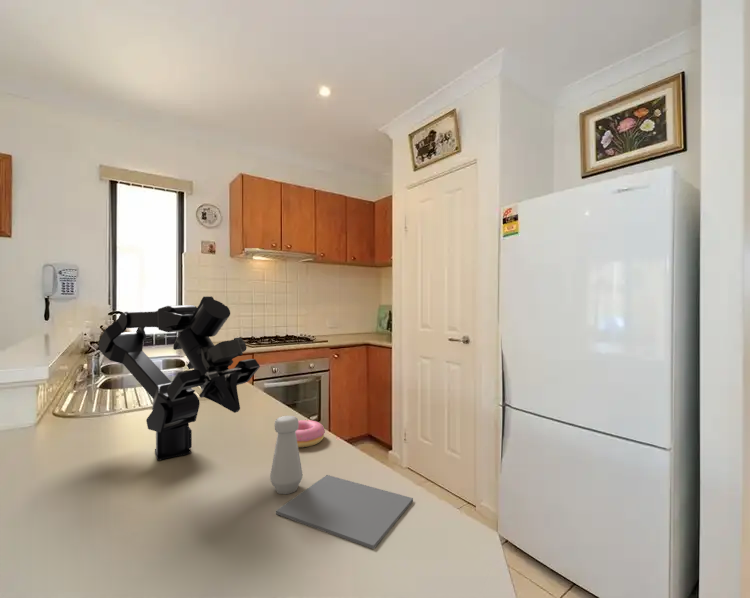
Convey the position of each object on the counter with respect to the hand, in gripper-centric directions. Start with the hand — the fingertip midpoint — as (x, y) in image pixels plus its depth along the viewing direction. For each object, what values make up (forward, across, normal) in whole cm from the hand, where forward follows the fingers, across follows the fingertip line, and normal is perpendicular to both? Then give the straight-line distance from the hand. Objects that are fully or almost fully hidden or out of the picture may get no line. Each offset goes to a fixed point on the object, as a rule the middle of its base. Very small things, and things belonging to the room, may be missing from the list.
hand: (237, 411), depth 75 cm
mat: (+27, 0, -9) cm, 28 cm away
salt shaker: (+18, 0, 0) cm, 18 cm away
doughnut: (+9, +20, +9) cm, 24 cm away
